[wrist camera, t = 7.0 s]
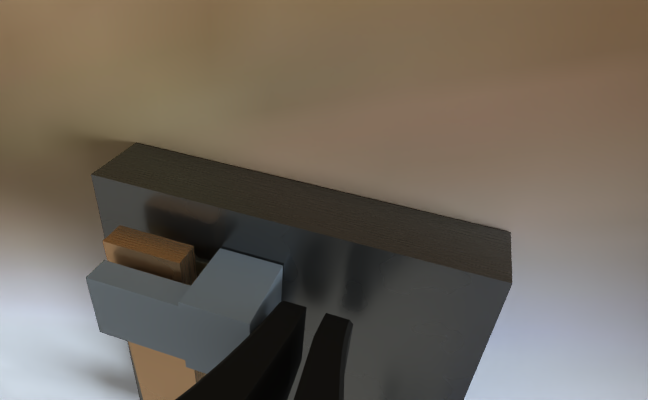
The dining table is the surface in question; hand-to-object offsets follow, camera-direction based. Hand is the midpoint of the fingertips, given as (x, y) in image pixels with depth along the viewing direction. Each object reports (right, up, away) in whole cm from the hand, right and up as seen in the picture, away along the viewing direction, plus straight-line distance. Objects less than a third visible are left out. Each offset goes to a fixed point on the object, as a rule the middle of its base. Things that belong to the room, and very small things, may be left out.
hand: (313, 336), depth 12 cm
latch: (-3, +1, +1) cm, 4 cm away
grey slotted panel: (-1, -2, +5) cm, 6 cm away
